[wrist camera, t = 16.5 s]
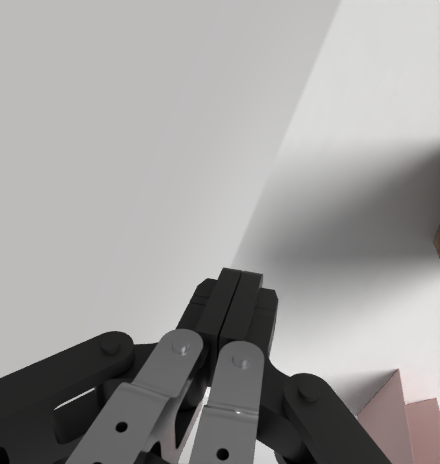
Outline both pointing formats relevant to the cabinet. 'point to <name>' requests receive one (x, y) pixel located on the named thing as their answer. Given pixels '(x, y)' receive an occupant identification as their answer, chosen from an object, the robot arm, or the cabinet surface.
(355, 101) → the cabinet surface
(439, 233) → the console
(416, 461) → the greeting card
